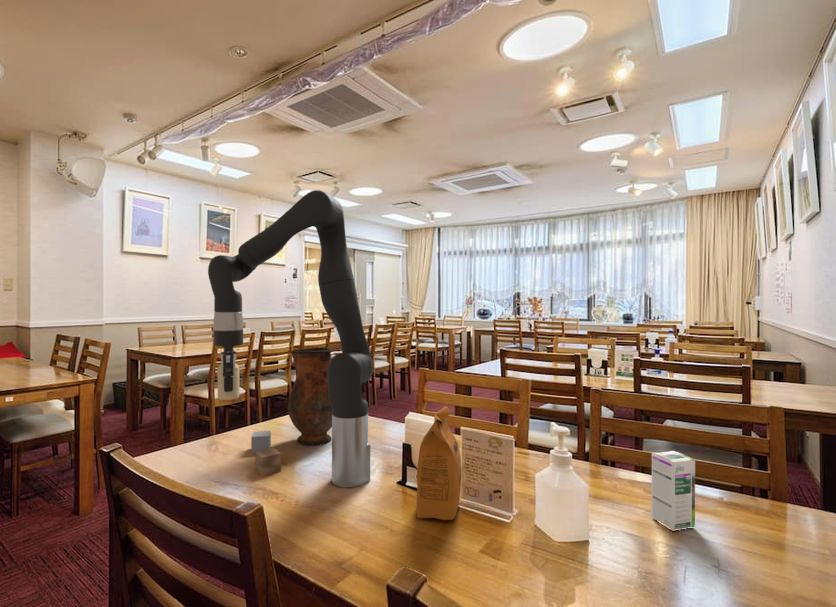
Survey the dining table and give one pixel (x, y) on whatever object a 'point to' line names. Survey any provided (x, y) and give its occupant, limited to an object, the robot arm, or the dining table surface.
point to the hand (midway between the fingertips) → (228, 388)
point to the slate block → (260, 441)
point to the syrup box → (673, 489)
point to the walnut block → (268, 461)
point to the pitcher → (311, 396)
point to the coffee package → (438, 471)
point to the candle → (235, 393)
